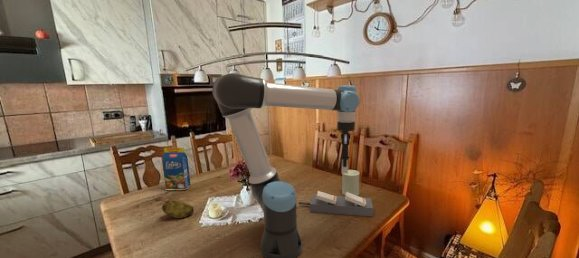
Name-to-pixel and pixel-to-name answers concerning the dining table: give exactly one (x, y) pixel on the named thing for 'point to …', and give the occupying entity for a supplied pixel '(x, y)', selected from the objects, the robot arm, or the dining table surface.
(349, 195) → the small box
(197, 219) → the dining table surface
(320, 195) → the block
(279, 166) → the dining table surface
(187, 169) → the blue food package
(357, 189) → the can
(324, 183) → the dining table surface
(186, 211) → the olive green oval lump
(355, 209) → the rocker switch panel
